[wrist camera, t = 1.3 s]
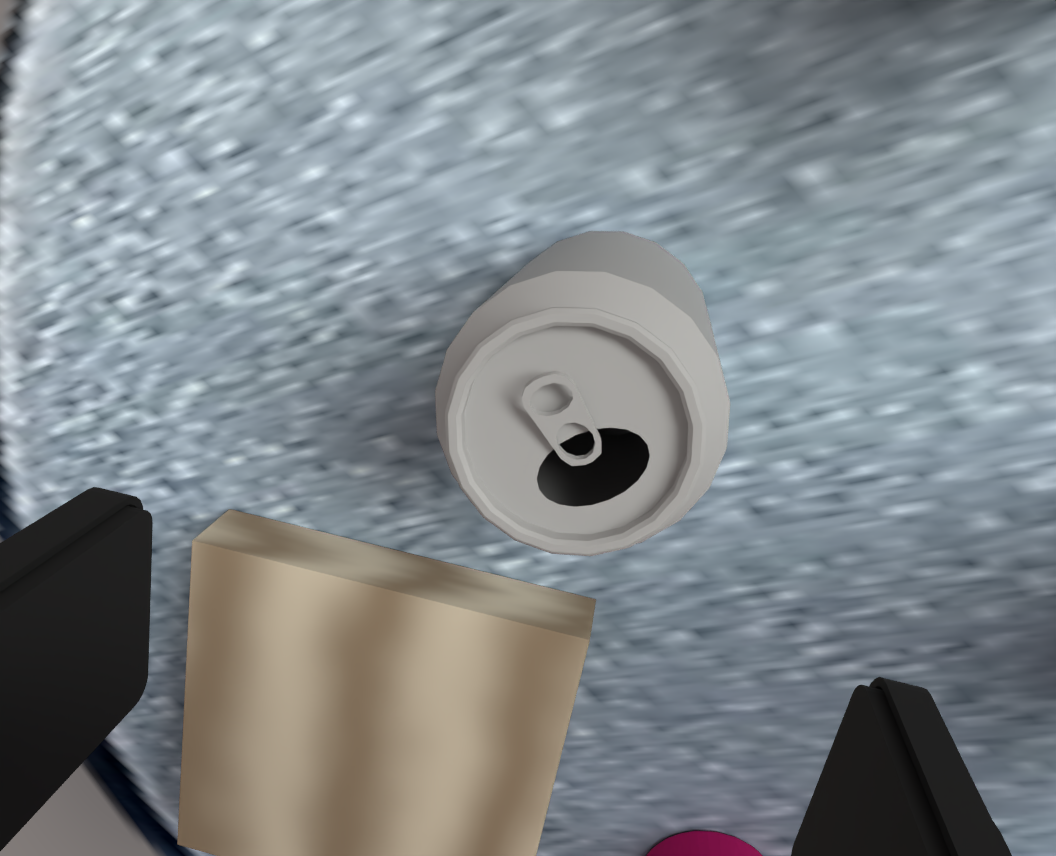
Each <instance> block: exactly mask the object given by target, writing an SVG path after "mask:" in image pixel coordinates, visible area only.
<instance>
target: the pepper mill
mask: <svg viewBox="0 0 1056 856" xmlns="http://www.w3.org/2000/svg"><path fill="white" fill-rule="evenodd" d="M646 856H762V855H761V854H760V853H759V852H758V851H757V850H756V849H755V848H754V847H752V846H751V845H749V844H747V843H746V842H744V841H742V840H740V839H738V838H736V837H734V836H730V835H726V834H723V833H719V832H712V831H691V832H685V833H680V834H677V835H674V836H672V837H669V838H666V839H665V840H663V841H662V842H661V843H659V844H658V845H656V846H655V847H654V848H652V849H651V850H650V852H649V853H648V854H647V855H646Z"/></svg>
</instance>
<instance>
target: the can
mask: <svg viewBox="0 0 1056 856" xmlns="http://www.w3.org/2000/svg"><path fill="white" fill-rule="evenodd" d="M435 401H436V423H437V436H438V438H439V441H440V444H441V446H442V449H443V452H444V454H445V457H446V460H447V462H448V465H449V468H450V470H451V473H452V475H453V477H454V478H455V479H456V480H457V482H458V484H459V486H460V488H461V489H462V491H463V492H464V493H465V494H466V496H467V497H468V498H469V500H470V501H471V502H472V503H473V505H474V506H475V507H476V509H477V510H478V511H479V512H480V514H481V515H482V516H483V518H485V519H486V520H488V521H489V522H490V523H492V524H493V525H494V526H496V527H497V528H499V529H500V530H501V531H503V532H504V533H506V534H507V535H508V536H510V537H511V538H512V539H514V540H516V541H518V542H521V543H524V544H527V545H529V546H532V547H535V548H538V549H541V550H543V551H546V552H549V553H552V554H566V555H582V556H594V555H598V554H603V553H607V552H612V551H616V550H620V549H625V548H629V547H631V546H633V545H634V544H637V543H641V542H643V541H645V540H647V539H648V538H650V537H652V536H654V535H655V534H657V533H659V532H661V531H662V530H664V529H666V528H668V527H669V526H671V525H673V524H675V523H676V522H678V521H680V520H681V519H682V517H683V516H684V515H685V514H686V513H687V512H688V511H689V510H690V509H691V508H692V506H693V505H694V504H695V503H696V502H697V501H698V500H699V499H700V498H701V497H702V496H703V494H704V493H705V492H706V491H707V490H708V489H709V487H710V485H711V483H712V480H713V478H714V476H715V474H716V471H717V469H718V467H719V464H720V462H721V460H722V458H723V455H724V453H725V451H726V448H727V439H728V425H729V412H730V400H729V396H728V391H727V387H726V383H725V379H724V375H723V371H722V367H721V363H720V359H719V355H718V351H717V347H716V343H715V339H714V335H713V331H712V326H711V322H710V319H709V315H708V311H707V308H706V304H705V300H704V297H703V293H702V290H701V289H700V287H699V286H698V285H697V283H696V282H695V280H694V279H693V277H692V276H691V274H690V273H689V271H688V270H687V268H686V267H685V265H684V264H683V263H682V262H681V261H680V260H678V259H677V258H676V257H674V256H673V255H672V254H670V253H669V252H668V251H666V250H665V249H664V248H663V247H661V246H660V245H659V244H657V243H656V242H653V241H650V240H647V239H644V238H641V237H638V236H635V235H632V234H629V233H627V232H621V231H589V232H586V233H582V234H579V235H576V236H573V237H570V238H567V239H564V240H561V241H558V242H556V243H555V244H553V245H552V246H551V247H549V248H548V249H547V250H545V251H544V252H542V253H541V254H540V255H538V256H537V257H536V258H534V259H533V260H532V261H530V262H529V263H528V264H527V265H526V266H525V267H523V268H522V269H521V270H520V271H519V272H518V273H517V274H516V275H515V276H513V277H512V278H511V279H510V280H509V281H508V282H507V283H506V284H504V285H503V286H502V287H501V288H500V289H499V290H498V291H497V292H495V293H494V294H493V295H492V296H491V297H490V298H489V299H488V300H486V301H485V302H484V303H483V304H482V305H481V306H480V307H479V308H477V309H476V310H475V311H474V312H473V313H472V314H471V316H470V317H469V319H468V320H467V322H466V323H465V324H464V326H463V327H462V329H461V330H460V332H459V333H458V334H457V336H456V337H455V339H454V340H453V342H452V343H451V344H450V346H449V347H448V349H447V351H446V355H445V358H444V362H443V365H442V369H441V372H440V376H439V379H438V383H437V386H436V390H435Z"/></svg>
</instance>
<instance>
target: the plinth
mask: <svg viewBox="0 0 1056 856" xmlns="http://www.w3.org/2000/svg"><path fill="white" fill-rule="evenodd" d="M595 602H596V599H592V598H588V597H584V596H580V595H576V594H572V593H568V592H564V591H560V590H556V589H552V588H548V587H544V586H540V585H535V584H531V583H527V582H523V581H519V580H515V579H511V578H507V577H503V576H499V575H495V574H491V573H487V572H483V571H479V570H475V569H471V568H467V567H462V566H458V565H454V564H450V563H446V562H442V561H438V560H434V559H430V558H426V557H422V556H418V555H414V554H410V553H406V552H402V551H398V550H394V549H389V548H385V547H381V546H377V545H373V544H369V543H365V542H361V541H357V540H353V539H349V538H345V537H341V536H337V535H333V534H329V533H325V532H321V531H316V530H312V529H308V528H304V527H300V526H296V525H292V524H288V523H284V522H280V521H276V520H272V519H268V518H264V517H260V516H256V515H252V514H248V513H243V512H239V511H235V510H231V509H229V510H228V511H227V512H226V513H224V514H223V515H222V516H221V517H220V518H218V519H217V520H216V521H215V522H214V523H212V524H211V525H210V526H209V527H208V528H207V529H205V530H204V531H203V532H202V533H201V534H199V535H198V536H197V537H196V538H195V539H194V540H192V557H191V578H190V598H189V618H188V639H187V659H186V679H185V700H184V720H183V740H182V761H181V781H180V801H179V822H178V842H177V844H178V845H181V846H185V847H188V848H192V849H195V850H199V851H202V852H206V853H209V854H213V855H217V856H536V853H537V849H538V845H539V841H540V837H541V833H542V829H543V825H544V821H545V817H546V813H547V809H548V805H549V801H550V797H551V793H552V789H553V785H554V781H555V777H556V773H557V769H558V765H559V761H560V757H561V753H562V749H563V745H564V741H565V737H566V733H567V729H568V725H569V721H570V717H571V713H572V709H573V705H574V701H575V697H576V693H577V689H578V685H579V681H580V677H581V673H582V669H583V665H584V661H585V657H586V653H587V649H588V645H589V641H590V635H591V629H592V622H593V616H594V609H595Z"/></svg>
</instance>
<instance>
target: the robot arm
mask: <svg viewBox="0 0 1056 856" xmlns="http://www.w3.org/2000/svg"><path fill="white" fill-rule="evenodd" d="M152 524H153V523H152V516H151V514H150V513H149V512H148V511H146V510H143V505H142V503H141V500H140V499H138V498H137V497H135V496H131V495H127V494H123V493H118V492H114V491H110V490H106V489H102V488H96V487H93V488H91V489H88V490H86V491H85V492H83V493H81V494H80V495H78V496H76V497H75V498H73V499H72V500H70V501H68V502H67V503H65V504H63V505H62V506H60V507H58V508H57V509H55V510H54V511H52V512H50V513H49V514H47V515H45V516H44V517H42V518H41V519H39V520H37V521H36V522H34V523H32V524H31V525H29V526H27V527H26V528H24V529H23V530H21V531H19V532H18V533H16V534H14V535H13V536H11V537H10V538H8V539H6V540H5V541H3V542H1V543H0V851H1V850H2V849H3V848H4V847H5V846H6V845H7V844H8V842H9V841H10V840H11V839H12V838H13V837H14V836H15V835H16V834H17V833H18V832H19V831H20V829H21V828H22V827H23V826H24V825H25V824H26V823H27V822H28V821H29V820H30V819H31V818H32V817H33V815H34V814H35V813H36V812H37V811H38V810H39V809H40V808H41V807H42V806H43V805H44V804H45V802H46V801H47V800H48V799H49V798H50V797H51V796H52V795H53V794H54V793H55V792H56V791H57V790H58V788H59V787H60V786H61V785H62V784H63V783H64V782H65V781H66V780H67V779H68V778H69V777H70V775H71V774H72V773H73V772H74V771H75V770H76V769H77V768H78V767H79V766H80V765H81V764H82V763H83V761H84V760H85V759H86V758H87V757H88V756H89V755H90V754H91V753H92V752H93V751H94V750H95V748H96V747H97V746H98V745H99V744H100V743H101V742H102V741H103V740H104V739H105V738H106V737H107V735H108V734H109V733H110V732H111V731H112V730H113V729H114V728H115V727H116V726H117V725H118V724H119V723H120V721H121V720H122V719H123V718H124V717H125V716H126V715H127V714H128V713H129V712H130V711H131V710H132V708H133V707H134V706H135V705H136V704H137V702H138V701H139V700H140V698H141V696H142V694H143V692H144V689H145V687H146V683H147V679H148V659H149V625H150V592H151V558H152ZM791 856H1012V855H1011V853H1010V850H1009V848H1008V846H1007V844H1006V842H1005V840H1004V838H1003V836H1002V834H1001V832H1000V831H999V829H998V828H997V826H996V825H995V823H994V822H993V820H992V819H991V817H990V815H989V813H988V811H987V809H986V807H985V805H984V802H983V800H982V798H981V796H980V794H979V792H978V790H977V788H976V786H975V784H974V782H973V780H972V778H971V776H970V774H969V772H968V770H967V768H966V766H965V764H964V762H963V760H962V758H961V756H960V753H959V751H958V749H957V747H956V745H955V743H954V741H953V739H952V737H951V735H950V733H949V731H948V729H947V727H946V725H945V723H944V721H943V719H942V717H941V715H940V713H939V711H938V709H937V707H936V704H935V702H934V700H933V698H932V696H931V694H930V693H929V692H928V690H927V689H924V688H922V687H918V686H913V685H909V684H905V683H901V682H897V681H893V680H889V679H885V678H881V677H879V678H876V679H874V681H873V682H872V683H871V684H870V686H869V687H868V686H864V685H859V686H857V688H856V689H855V690H854V692H853V694H852V697H851V699H850V702H849V704H848V707H847V709H846V712H845V714H844V717H843V720H842V722H841V725H840V727H839V730H838V732H837V735H836V737H835V740H834V742H833V745H832V748H831V750H830V753H829V755H828V758H827V760H826V763H825V765H824V768H823V771H822V773H821V776H820V778H819V781H818V783H817V786H816V788H815V791H814V794H813V796H812V799H811V801H810V804H809V806H808V809H807V811H806V814H805V817H804V819H803V822H802V824H801V827H800V829H799V832H798V834H797V837H796V840H795V842H794V845H793V848H792V854H791Z"/></svg>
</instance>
